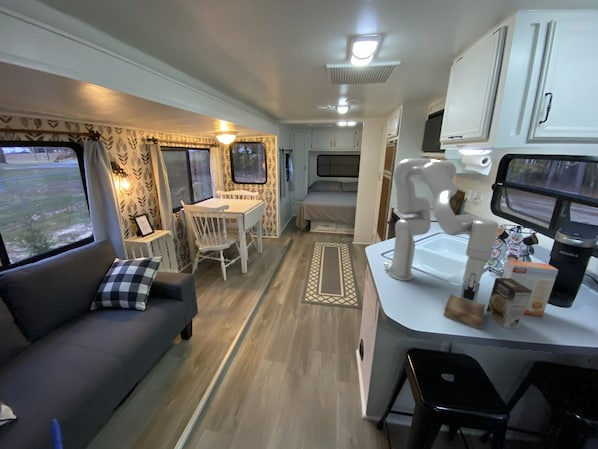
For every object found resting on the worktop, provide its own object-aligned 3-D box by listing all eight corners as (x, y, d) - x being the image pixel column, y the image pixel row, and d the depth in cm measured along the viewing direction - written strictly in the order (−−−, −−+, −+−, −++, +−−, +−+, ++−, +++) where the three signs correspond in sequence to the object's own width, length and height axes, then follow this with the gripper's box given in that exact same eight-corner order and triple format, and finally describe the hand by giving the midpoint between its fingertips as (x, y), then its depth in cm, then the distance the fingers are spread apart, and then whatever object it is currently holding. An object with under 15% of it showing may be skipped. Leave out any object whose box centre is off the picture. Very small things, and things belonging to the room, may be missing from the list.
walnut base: (443, 315, 94) (445, 307, 93) (448, 301, 103) (450, 294, 102) (480, 329, 87) (483, 320, 86) (482, 313, 96) (485, 305, 95)
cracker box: (533, 308, 99) (549, 263, 93) (542, 317, 94) (560, 270, 88) (494, 302, 103) (506, 258, 97) (501, 310, 98) (514, 265, 92)
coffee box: (484, 312, 96) (494, 277, 92) (500, 312, 96) (511, 277, 92) (503, 328, 88) (514, 290, 83) (520, 328, 88) (533, 290, 83)
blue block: (459, 297, 92) (462, 284, 90) (461, 292, 96) (464, 279, 94) (475, 302, 89) (479, 288, 87) (476, 297, 93) (480, 283, 91)
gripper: (469, 244, 96) (460, 283, 101) (463, 257, 83) (454, 301, 88) (492, 248, 91) (482, 290, 96) (490, 263, 79) (478, 309, 84)
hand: (468, 295), depth 92 cm, fingers closed on blue block, 5 cm apart
